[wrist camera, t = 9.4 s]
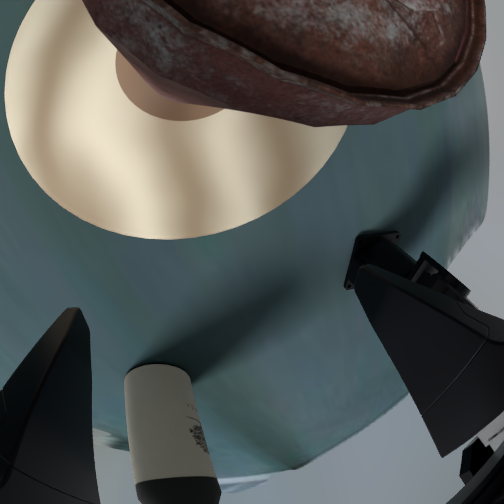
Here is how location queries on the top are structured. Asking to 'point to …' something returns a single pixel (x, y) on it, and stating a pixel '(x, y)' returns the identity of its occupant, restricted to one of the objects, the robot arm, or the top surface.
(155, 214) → the turntable
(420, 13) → the can
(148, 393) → the travel mug
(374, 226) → the top surface
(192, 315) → the top surface
